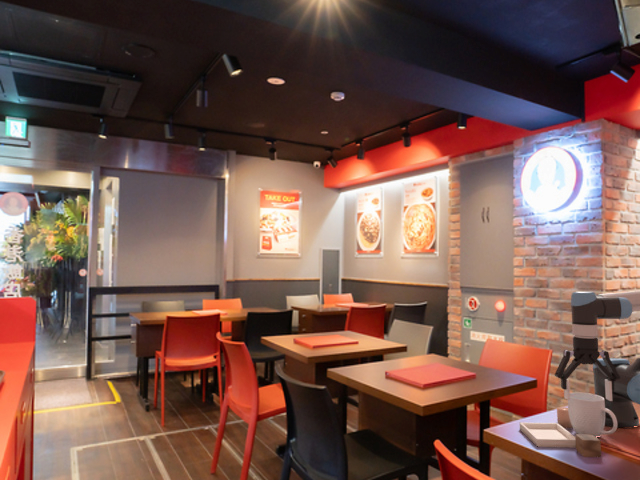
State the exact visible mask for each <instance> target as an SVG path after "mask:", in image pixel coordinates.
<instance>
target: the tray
mask: <svg viewBox="0 0 640 480" xmlns="http://www.w3.org/2000/svg"><path fill="white" fill-rule="evenodd" d="M519 430H520V431H521V433H523V435H525V436H526V437H527V438H528V439H529V440H530V442H532V443H533V444H534V446H536V447H537V446H538V447H537V448H566V449H567V448H571V449H572V448H574V449H576V439H575V435H574V434H572V433H571V432H570V431H568V430H567V428H563V427H562V426H561V425H559V424H558V422H519Z"/></svg>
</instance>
